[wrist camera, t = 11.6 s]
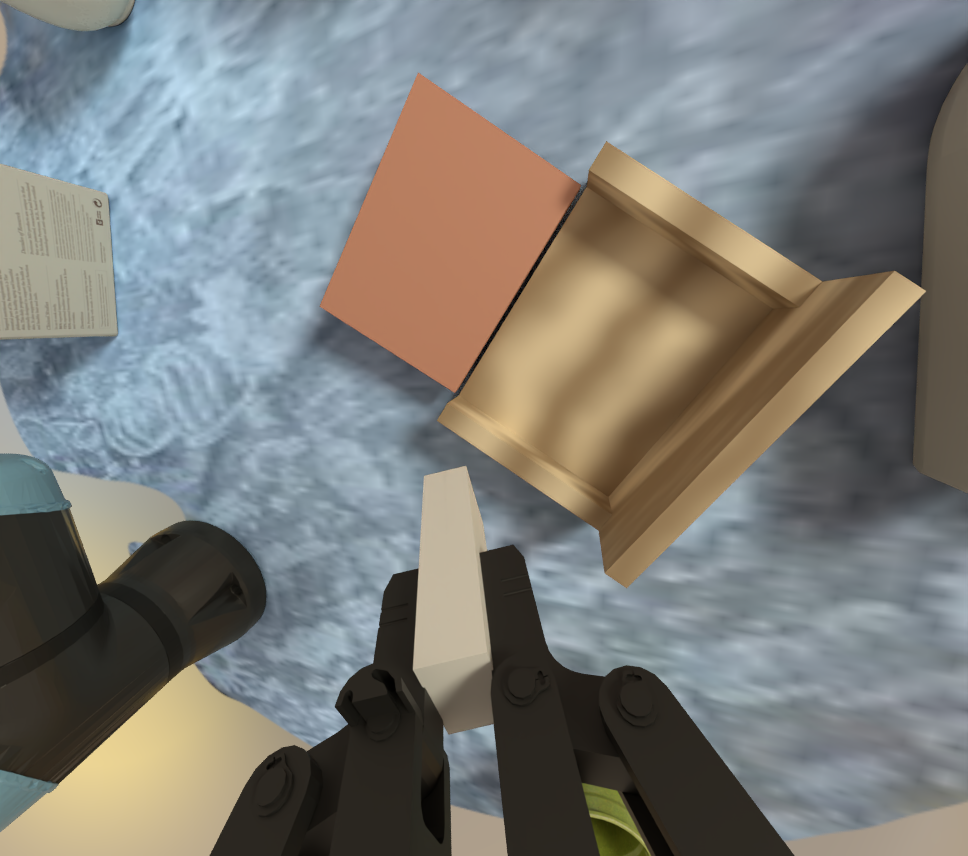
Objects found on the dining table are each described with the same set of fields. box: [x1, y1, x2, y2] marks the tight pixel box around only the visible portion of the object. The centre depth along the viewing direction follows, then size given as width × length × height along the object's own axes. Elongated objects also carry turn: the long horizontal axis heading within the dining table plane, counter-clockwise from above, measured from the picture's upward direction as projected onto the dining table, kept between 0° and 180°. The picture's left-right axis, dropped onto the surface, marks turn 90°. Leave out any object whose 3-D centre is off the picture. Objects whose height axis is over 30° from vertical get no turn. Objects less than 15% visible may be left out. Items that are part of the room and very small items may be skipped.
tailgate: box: [320, 73, 581, 393], centre depth 27 cm, size 2×16×12 cm
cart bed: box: [437, 141, 926, 588], centre depth 25 cm, size 16×20×10 cm
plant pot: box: [582, 783, 651, 856], centre depth 36 cm, size 9×9×9 cm
